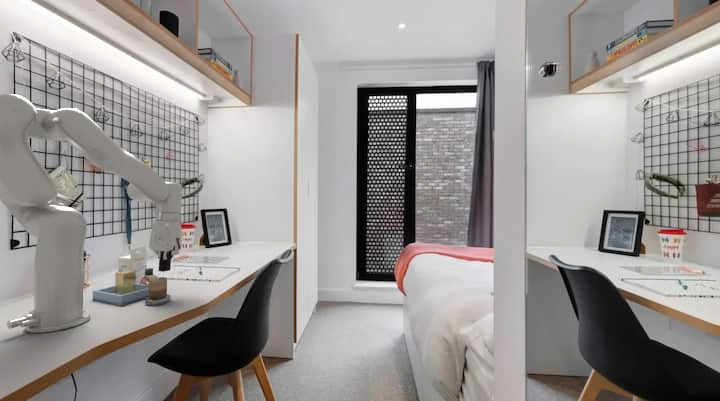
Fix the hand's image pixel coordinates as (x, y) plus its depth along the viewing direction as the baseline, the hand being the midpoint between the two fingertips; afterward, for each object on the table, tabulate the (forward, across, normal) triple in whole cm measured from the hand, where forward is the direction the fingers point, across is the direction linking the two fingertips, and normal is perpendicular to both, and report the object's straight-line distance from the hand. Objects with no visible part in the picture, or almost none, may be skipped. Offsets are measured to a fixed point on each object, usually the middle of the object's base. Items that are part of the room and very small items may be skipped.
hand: (164, 270), depth 108 cm
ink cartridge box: (+9, -22, +5) cm, 24 cm away
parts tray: (+9, -11, -5) cm, 15 cm away
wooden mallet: (+7, -2, -2) cm, 8 cm away
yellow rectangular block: (+9, -11, -5) cm, 15 cm away
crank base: (+9, -3, -1) cm, 10 cm away
